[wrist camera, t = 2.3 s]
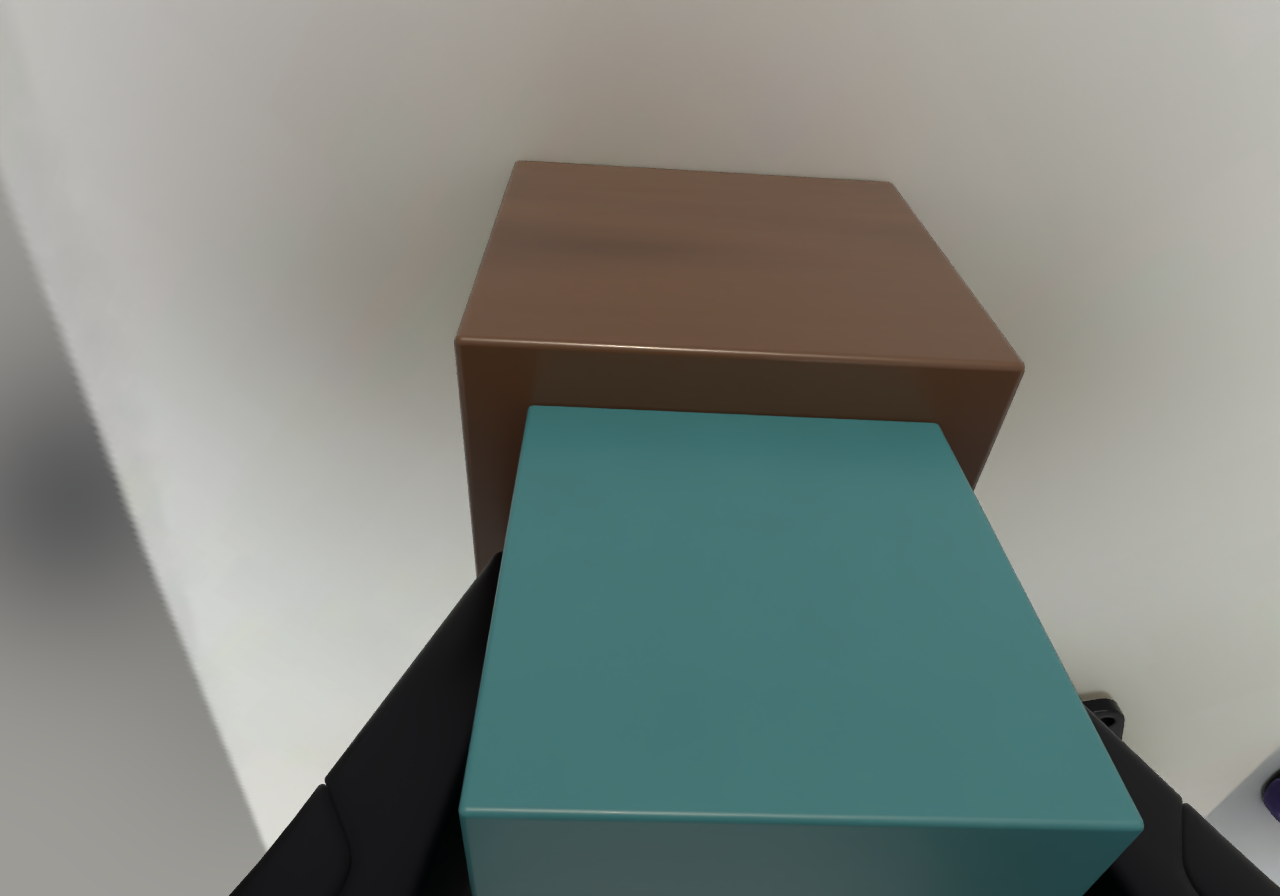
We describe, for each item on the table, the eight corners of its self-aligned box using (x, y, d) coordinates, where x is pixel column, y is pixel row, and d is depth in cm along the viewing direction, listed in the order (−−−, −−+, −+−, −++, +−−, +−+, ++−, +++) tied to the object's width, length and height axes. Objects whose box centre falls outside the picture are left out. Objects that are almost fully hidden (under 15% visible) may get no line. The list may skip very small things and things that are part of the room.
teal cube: (847, 670, 11) (945, 1048, 8) (536, 661, 11) (494, 1044, 8) (939, 420, 9) (1151, 828, 5) (527, 402, 8) (456, 815, 5)
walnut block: (817, 470, 16) (886, 703, 12) (524, 457, 16) (486, 692, 12) (893, 180, 13) (1030, 366, 8) (513, 157, 12) (452, 339, 8)
